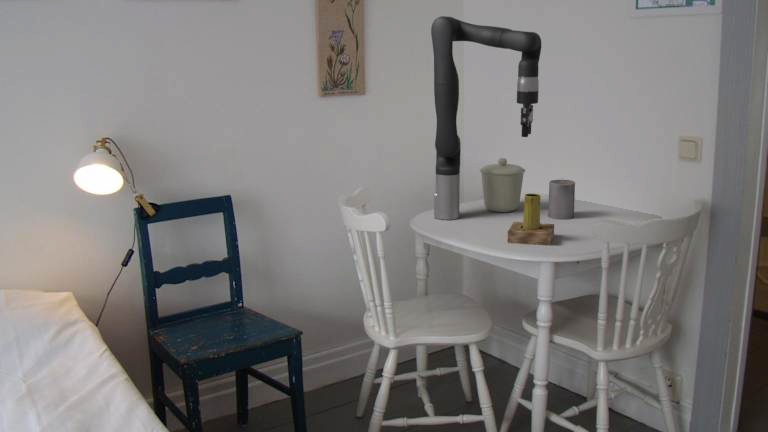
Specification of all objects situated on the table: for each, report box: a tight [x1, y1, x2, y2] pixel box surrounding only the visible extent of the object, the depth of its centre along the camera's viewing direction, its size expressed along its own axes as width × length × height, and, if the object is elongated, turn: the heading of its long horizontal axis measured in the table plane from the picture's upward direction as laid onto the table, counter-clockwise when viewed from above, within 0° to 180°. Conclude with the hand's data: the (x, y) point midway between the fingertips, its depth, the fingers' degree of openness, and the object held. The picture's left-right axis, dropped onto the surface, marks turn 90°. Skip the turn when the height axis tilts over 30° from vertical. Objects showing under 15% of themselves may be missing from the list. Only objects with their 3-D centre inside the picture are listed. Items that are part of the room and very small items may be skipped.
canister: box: [479, 157, 526, 213], centre depth 295 cm, size 18×18×21 cm
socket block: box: [507, 221, 555, 246], centre depth 251 cm, size 14×14×4 cm
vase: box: [522, 193, 541, 230], centre depth 250 cm, size 6×6×14 cm
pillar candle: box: [547, 178, 576, 220], centre depth 282 cm, size 10×10×15 cm
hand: (526, 135), depth 265 cm, fingers open, 8 cm apart
